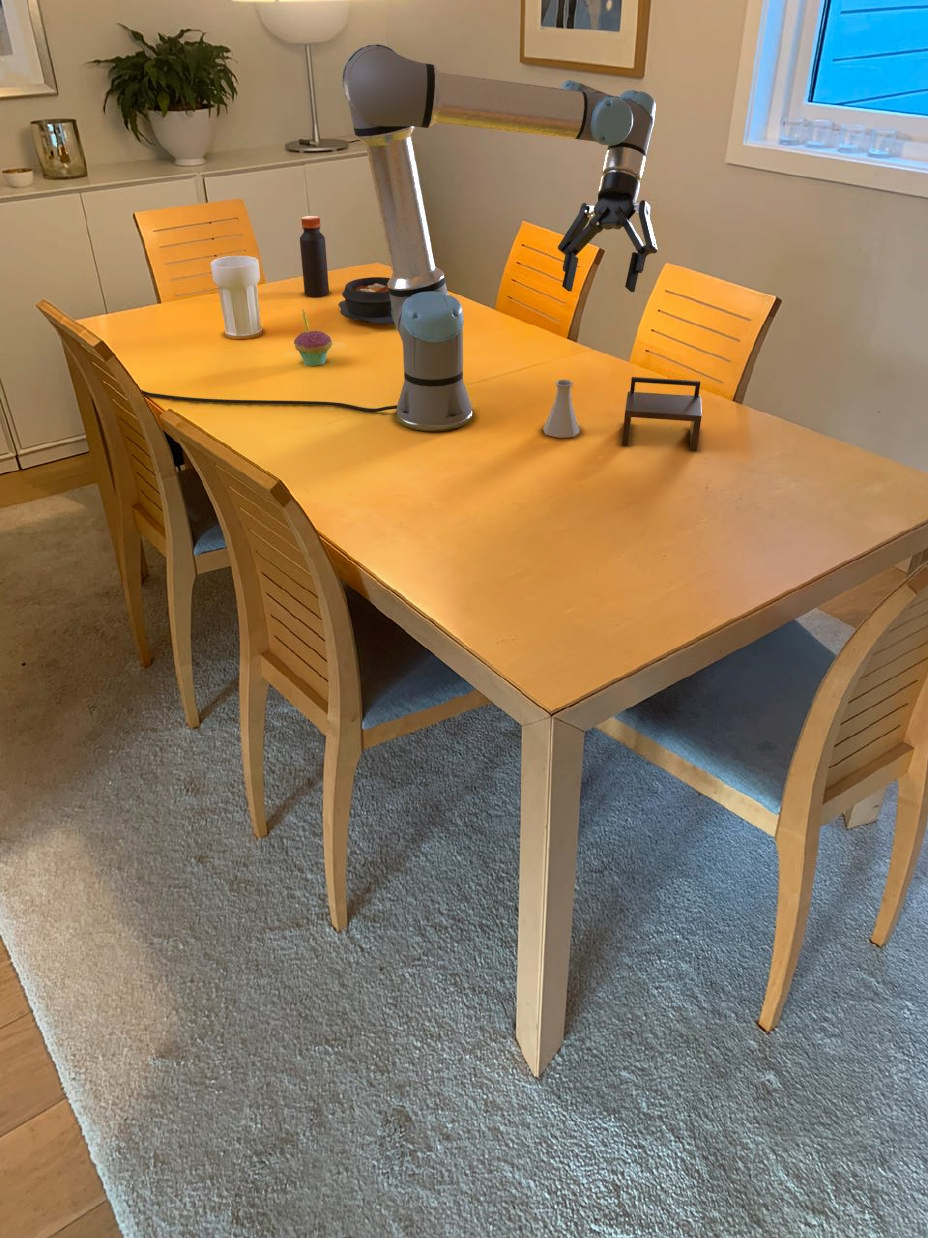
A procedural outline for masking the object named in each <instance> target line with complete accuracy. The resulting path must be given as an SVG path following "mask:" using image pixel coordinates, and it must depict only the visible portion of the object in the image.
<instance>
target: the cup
mask: <svg viewBox="0 0 928 1238" xmlns="http://www.w3.org/2000/svg"><path fill="white" fill-rule="evenodd" d="M209 264H210V269H211V274H212V280H213V282H214V284H215V285H216V286H217V288H218V293H219V299H220V305H221V312H222V317H223V322H224V329H225V330H224V334H225V336H226V338H229V339H233V340H249V339H254V338H258V337H259V336H262V335H263V328H262V325H261V315H260V314H261V313H260V303H259V302H260V301H259V292H258V284H259V282H260V279H261V273H260V262H259V259H258V258H257V257H254V256H250V255H229V256H222V257H218V258H214V259H212V260H211V262H210V263H209Z"/></svg>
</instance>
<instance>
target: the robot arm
mask: <svg viewBox="0 0 928 1238" xmlns="http://www.w3.org/2000/svg"><path fill="white" fill-rule="evenodd" d="M341 85H342V91H343V94H344V97H345V98H346V101H347V104H348V109H349V113H350V118H351V122H352V128H353V132H354V136H355V138H356V139H357V140H359V141H360V142H361V143H363V144H364V145H365V148H366V152H367V158H368V163H369V168H370V172H371V177H372V181H373V187H374V191H375V196H376V200H377V201H376V202H377V205H378V206H377V207H378V211H379V215H380V219H381V225H382V229H383V235H384V240H385V244H386V248H387V254H388V258H389V262H390V263H389V264H390V267H391V272H392V274H391V276H390V277H389V278H390V280H389V281H388V283H387V286H388V290H389V295H390V300H391V307H392V310H391V313H392V318H393V321H394V324H393V325H394V326H395V328H396V330H397V332H398V335H399V337H400V340H401V343H402V354H403V355H402V356H403V377H404V378H403V379H404V380H403V384H402V388H401V391H400V394H399V398H398V402H397V404H396V405H387V406H381V407H377V408H374V407H372V408H370V407H361V406H357V405H353V404H349V403H344V402H333V401H319V400H318V401H317V400H277V399H276V400H272V399H271V400H270V399H269V400H267V399H265V400H264V399H261V400H260V399H222V398H220V399H219V398H204V397H203V398H202V397H189V396H179V395H172V394H171V395H170V394H161V393H155V392H149V391H145V390H143V389H140V390H141V391H142V395H144V396H147V397H152V398H159V399H168V400H177V401H187V402H200V403H213V404H215V403H216V404H248V405H249V404H253V405H254V404H255V405H304V406H305V405H306V406H307V405H308V406H309V405H310V406H311V405H312V406H329V407H330V406H331V407H340V408H348V409H351V410H356V411H360V412H365V413H366V412H367V413H378V412H384V411H389V410H390V411H391V410H396V420H397V422H398V423H399V424H401V425H402V426H403V427H405V428H408V429H412V430H414V431H420V432H446V431H451V430H456V429H459V428H461V427H463V426H466V425H468V424H469V423H470V422H471V420H472V419H473V406H472V403H471V400H470V396H469V394H468V391H467V388H466V385H465V382H464V324H465V319H464V316H465V315H464V313H463V305H462V303H461V302H460V300H458V299H457V298H456V297H455V296H453V295H450V294H448V288H447V283H446V278H445V271H443V270H442V269H440V268H439V267H437V266H436V265H435V259H434V254H433V249H432V243H431V237H430V232H429V231H430V230H429V226H428V220H427V215H426V210H425V205H424V199H423V193H422V188H421V182H420V177H419V171H418V166H417V162H416V155H415V150H414V145H413V139H412V135H413V132H414V131H415V129H416V128H423V129H431V127H432V126H434V125H435V124H438V123H439V124H446V125H455V126H463V127H473V128H480V129H488V130H498V131H506V132H515V133H522V134H523V133H524V134H529V135H530V134H531V135H539V136H549V137H556V138H564V139H565V138H566V139H575V140H580V141H585V142H586V141H587V142H595V143H597V144H599V145H600V146H601V145H602V146H607V150H606V154H605V159H604V164H603V168H602V173H601V174H602V176H601V178H600V183H599V188H598V192H597V201H596V203H595V205H591V204H590V205H589V204H587V202H582V203H581V205H580V208H579V211H578V214H577V216H576V217H575V219H574V220H573V222H572V223H571V225H570V227H569V228H568V230H567V231H566V233H565V235H564V236H563V238H562V239H561V241H560V242H559V244H558V245H557V250H558V251H559V252H560V253H562V255H563V256H564V258H563V259H564V260H563V264H562V271H563V272H564V275H563V280H562V285H561V287H562V288H563V289H565V291H567V292H573V287H574V283H575V277H576V273H577V268H578V264H579V257H577V256H578V254H580V253H581V251H582V250H583V249H584V248H585V247H586V246H587V245H588V244H589V243H590V242H591V241H592V240H593V239H594V238H595V237H596V235H598V234H599V233H601V232H602V231H603V230H605V231H609V230H621V229H622V228H623V229H624V231H625V232H626V234H627V236H628V237H629V239H630V241H631V243H632V245H633V246H634V248H635V251H637V252H635V251H634V252H633V251H632V252H631V258H630V262H629V267H628V272H627V276H626V281H625V285H624V288H625V289H627V290H628V291H629V292H630V293H635V291H636V287H637V282H638V278H639V274H642V273H643V272H644V267H645V264H646V258H647V257H648V255H651V254H656V253H657V252H658V245H657V242H656V238H655V234H654V229H653V226H652V222H651V218H650V215H651V206H650V204H648V202H647V201H646V200H644V199H642V200H640V201H639V203H636V202H638V196H639V191H640V188H641V183H640V182H641V181H642V176H643V174H644V173H643V172H644V168H645V163H646V158H647V154H648V153H647V152H648V148H649V144H650V140H651V135H652V132H653V128H654V126H655V116H656V108H657V106H656V104H657V103H656V101H655V99H654V97H652V95H651V94H649V93H647V92H645V91H642V90H639V91H638V90H635V89H629V90H626V91H624V92H622V93H620V95H619V96H618V95H611V94H609V93H606V92H603V91H602V90H598V89H595V88H594V87H590V86H589V85H586V84H584V83H582V82H577V81H575V80H572V79H567V80H565V81H564V82H563V83H562V84H561V85H560V87H553V86H545V85H536V84H532V83H531V84H530V83H523V82H516V81H515V82H514V81H508V80H502V79H501V80H500V79H492V78H485V77H477V76H470V75H465V74H464V75H462V74H455V73H448V72H441V71H440V70H439V69H438V67H437V66H436V65H435V64H433V63H426V62H420V61H416V60H413V59H410V58H407V57H405V56H403V55H400V54H398V52H396V51H395V50H393V49H392V48H390V47H389V46H386V45H383V44H379V43H377V44H367V45H366V46H361V47H360V48H358V49H357V50H355V51H354V52H353V53H352V54H351V55H350V56H349V58H348V59H347V61H346V63H345V64H344V68H343V71H342V77H341ZM635 214H637V216H638V219H639V222H640V226H641V230H642V234H643V238H644V242H645V245H644V243H643V242H642V240H641V237H640V236H639V234H638V233H637V230H636V229H635V227H634V225H633V223H632V222H631V218H632V217H633V216H634V215H635ZM593 215H594V216H593Z"/></svg>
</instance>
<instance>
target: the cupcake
mask: <svg viewBox="0 0 928 1238" xmlns="http://www.w3.org/2000/svg"><path fill="white" fill-rule="evenodd" d="M301 310H302V311H301V312H302V318H303V322H304V327H305V331H303V332H301V333H299V334H298V335H297V337H295V339H294V340H293V344H294V348H295V350H296V351H298V353H299V355H300V357H301V359H302V361H303V364H304V365H306V366H310V367H318V366H322V365H324V364H325V363H326V358H327V355H328V351H329V350H330V349H331V348H332V346H333V340H332V338H331V337H330V335H328V334H327V333H325V332H323V331H321V330H310V328H309V323H308V320H307V319H308V318H307V315H306V312H305V311H304V309H303V308H302V309H301Z"/></svg>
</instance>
